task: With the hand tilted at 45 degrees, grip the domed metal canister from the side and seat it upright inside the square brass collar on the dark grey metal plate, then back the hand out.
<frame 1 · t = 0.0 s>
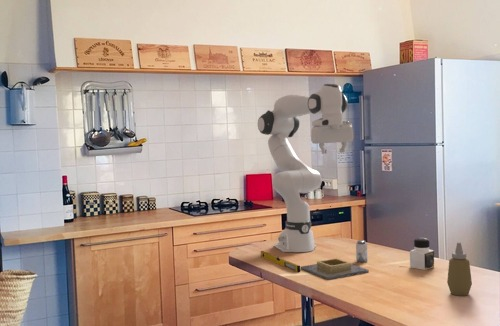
hand: (333, 153, 244), 48 cm above the table, tool pointing down, fingers open, 8 cm apart
medicine bottle: (422, 267, 233), on the table
domed metal canister: (361, 261, 247), on the table
collar plate: (334, 270, 233), on the table
squeeze bottle: (459, 294, 196), on the table
spirit level: (279, 265, 247), on the table
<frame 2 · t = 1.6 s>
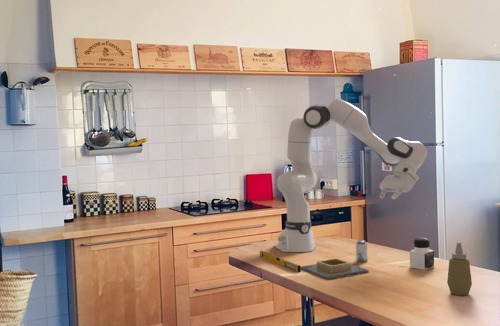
hand: (386, 198, 250), 27 cm above the table, tool tilted 40°, fingers open, 8 cm apart
nothing on the table moved.
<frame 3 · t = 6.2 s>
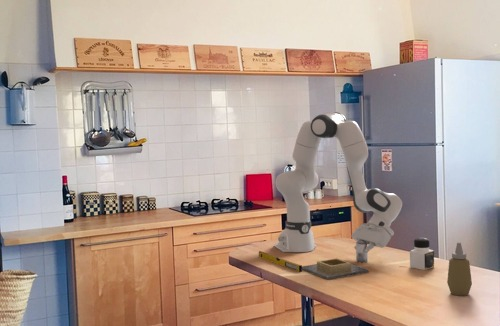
hand: (360, 250, 246), 5 cm above the table, tool tilted 45°, fingers closed on domed metal canister, 5 cm apart
domed metal canister: (361, 261, 247), on the table, touching gripper
everything else where it was.
when the fingers open (7 cm above the table, at t = 13.6 s): domed metal canister drops 1 cm, resting on collar plate.
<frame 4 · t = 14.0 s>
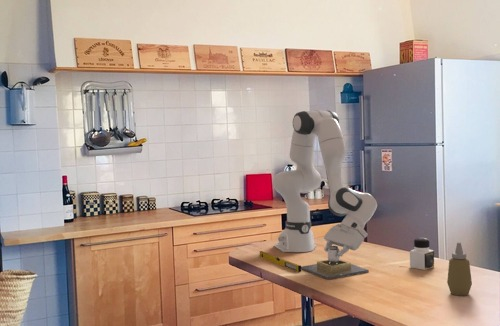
hand: (332, 253, 232), 7 cm above the table, tool tilted 45°, fingers open, 8 cm apart
domed metal canister: (334, 268, 233), point 1 cm above the table, touching collar plate
everything else where it was.
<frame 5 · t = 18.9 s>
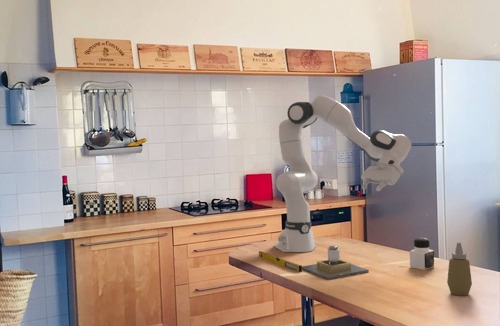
hand: (370, 189, 247), 31 cm above the table, tool tilted 45°, fingers open, 8 cm apart
nothing on the table moved.
at the end: domed metal canister 0.0 cm off-centre on the collar plate, point 1.0 cm above the collar plate's base; domed metal canister tilted 0°; the gripper is holding nothing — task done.
